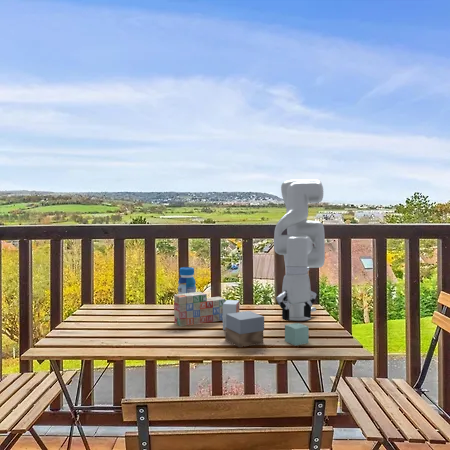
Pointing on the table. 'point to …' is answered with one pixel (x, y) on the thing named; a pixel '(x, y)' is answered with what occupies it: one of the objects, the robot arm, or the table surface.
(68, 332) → the table surface
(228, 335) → the walnut block
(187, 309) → the stack of blocks
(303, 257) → the robot arm
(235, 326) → the grey block
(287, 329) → the green cube
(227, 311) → the small box
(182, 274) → the beverage bottle
